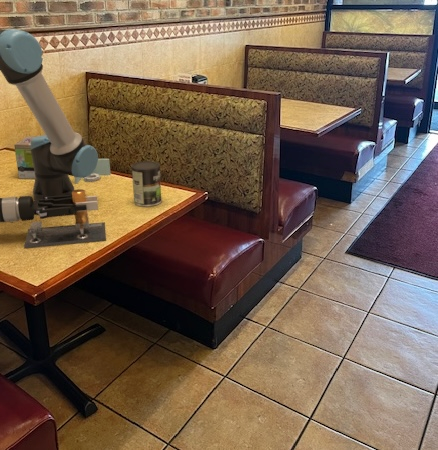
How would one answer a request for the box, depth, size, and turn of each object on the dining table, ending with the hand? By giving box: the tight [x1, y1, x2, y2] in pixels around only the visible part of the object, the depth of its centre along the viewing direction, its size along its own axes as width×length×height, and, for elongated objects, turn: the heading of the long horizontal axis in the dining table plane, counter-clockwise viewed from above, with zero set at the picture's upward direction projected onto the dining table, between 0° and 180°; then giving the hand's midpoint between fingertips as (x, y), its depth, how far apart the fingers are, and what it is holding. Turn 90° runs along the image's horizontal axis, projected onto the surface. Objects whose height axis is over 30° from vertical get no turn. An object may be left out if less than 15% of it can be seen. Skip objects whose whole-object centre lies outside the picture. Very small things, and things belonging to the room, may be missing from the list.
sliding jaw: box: [72, 188, 90, 236], centre depth 156 cm, size 9×4×12 cm, turn 13°
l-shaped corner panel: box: [73, 158, 112, 185], centre depth 206 cm, size 12×12×8 cm
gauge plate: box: [23, 221, 107, 249], centre depth 157 cm, size 12×24×4 cm, turn 103°
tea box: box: [13, 135, 39, 180], centre depth 211 cm, size 15×10×15 cm
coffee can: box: [130, 160, 163, 208], centre depth 182 cm, size 10×10×14 cm
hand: (97, 202), depth 158 cm, fingers closed on sliding jaw, 4 cm apart
